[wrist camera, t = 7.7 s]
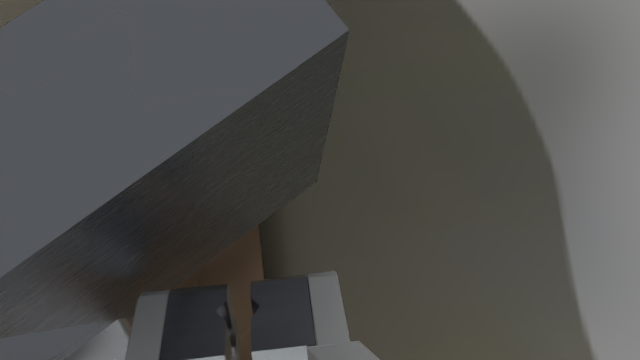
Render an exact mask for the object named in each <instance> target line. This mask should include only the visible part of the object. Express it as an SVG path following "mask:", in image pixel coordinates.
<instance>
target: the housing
mask: <svg viewBox="0 0 640 360" xmlns="http://www.w3.org/2000/svg"><path fill="white" fill-rule="evenodd" d="M264 279H265V274H264V264H263V255H262V245H261V236H260V227H259V225H258V226H256V227H255V228H254V229H252V230H251V231H250V232H248V233H247V234H246V235H244V236H243V237H242V238H240V239H239V240H238V241H236V242H235V243H234V244H232V245H231V246H230V247H228V248H227V249H226V250H224V251H223V252H222V253H220V254H219V255H218V256H216V257H215V258H214V259H212V260H211V261H210V262H208V263H207V264H206V265H204V266H203V267H202V268H200V269H199V270H198V271H196V272H195V273H194V274H192V275H191V276H190V277H188V278H187V279H186V280H184V281H183V282H182V283H180V284H179V285H178V286H176V287H175V288H174V289H177V288H188V287H199V286H210V285H221V284H229V286H230V289H231V294H232V298H233V316H234V317H236V319H237V325H238V332H239V340H240V356H241V360H252V354H251V317H252V316H253V312H252V305H251V298H250V284H251V281H256V280H264ZM133 318H134V317H130V318H123V319H118V320H116V321H115V322H114V323H112V324H111V325H110V326H108V327H107V328H106V329H104V330H103V331H101V332H100V333H99V334H97V335H96V336H95V337H93V338H92V339H91V340H89V341H88V342H87V343H85V344H84V345H83V346H81V347H80V348H79V349H77V350H76V351H75V352H73V353H72V354H71V355H69V356H68V357H67V358H65V359H64V360H125V355H126V351H127V346H128V341H129V337H130V332H131V327H132V323H133Z"/></svg>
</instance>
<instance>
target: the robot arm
mask: <svg viewBox="0 0 640 360" xmlns="http://www.w3.org/2000/svg"><path fill="white" fill-rule="evenodd" d="M250 298H251V305H252V312H253V316H252V317H251V354H252V360H380V359H379V358H378V357H377V356H376V355H374V354H373V353H372V352H371V351H370V350H369V349H368V348H367V347H365V346H364V345H363V344H362V343H361V342H360V341H350V337H349V332H348V327H347V322H346V316H345V311H344V306H343V301H342V296H341V291H340V286H339V280H338V275H337V273H336V272H335V270H334V271H327V272H319V273H311V274H307V275H306V274H305V275H297V276H289V277H281V278H272V279H264V280H256V281H251V284H250ZM125 360H241V356H240V340H239V332H238V325H237V319H236V317H234V316H233V298H232V294H231V289H230V286H229V284H221V285H210V286H199V287H188V288H177V289H171V290H162V291H150V292H142V293H141V295H140V296H139V298H138V299H137V304H136V309H135V313H134V318H133V323H132V327H131V332H130V337H129V341H128V346H127V351H126V355H125Z"/></svg>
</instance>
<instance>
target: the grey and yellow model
mask: <svg viewBox="0 0 640 360" xmlns="http://www.w3.org/2000/svg"><path fill="white" fill-rule="evenodd" d="M348 34H349V29H348V27H347V26H346V25H345V24H344V23H343V21H342V20H341V19H340V18H339V16H338V15H337V14H336V13H335V12H334V10H333V9H332V8H331V7H330V5H329V4H328V3H327V2H326V1H325V0H44V1H42V2H40V3H39V4H37V5H36V6H34V7H33V8H31V9H29V10H28V11H26V12H25V13H23V14H22V15H20V16H18V17H17V18H15V19H14V20H12V21H11V22H9V23H7V24H6V25H4V26H3V27H1V28H0V360H64V359H65V358H67V357H68V356H69V355H71V354H72V353H73V352H75V351H76V350H77V349H79V348H80V347H81V346H83V345H84V344H85V343H87V342H88V341H89V340H91V339H92V338H93V337H95V336H96V335H97V334H99V333H100V332H101V331H103V330H104V329H106V328H107V327H108V326H110V325H111V324H112V323H114V322H115V321H116V320H118V319H123V318H130V317H134V313H135V309H136V304H137V299H138V298H139V296H140V295H141V293H142V292H150V291H162V290H171V289H174V288H175V287H176V286H178V285H179V284H180V283H182V282H183V281H184V280H186V279H187V278H188V277H190V276H191V275H192V274H194V273H195V272H196V271H198V270H199V269H200V268H202V267H203V266H204V265H206V264H207V263H208V262H210V261H211V260H212V259H214V258H215V257H216V256H218V255H219V254H220V253H222V252H223V251H224V250H226V249H227V248H228V247H230V246H231V245H232V244H234V243H235V242H236V241H238V240H239V239H240V238H242V237H243V236H244V235H246V234H247V233H248V232H250V231H251V230H252V229H254V228H255V227H256V226H258V225H259V224H260V223H262V222H263V221H264V220H266V219H267V218H268V217H270V216H271V215H272V214H274V213H275V212H276V211H278V210H279V209H280V208H282V207H283V206H284V205H286V204H287V203H288V202H290V201H291V200H292V199H294V198H295V197H296V196H298V195H299V194H300V193H301V192H303V191H304V190H305V189H307V188H308V187H309V186H311V185H312V184H313V183H315V182H316V181H317V177H318V172H319V168H320V163H321V159H322V154H323V149H324V145H325V140H326V135H327V131H328V126H329V122H330V117H331V112H332V108H333V103H334V99H335V94H336V89H337V85H338V80H339V75H340V71H341V66H342V62H343V57H344V52H345V48H346V43H347V39H348Z"/></svg>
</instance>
